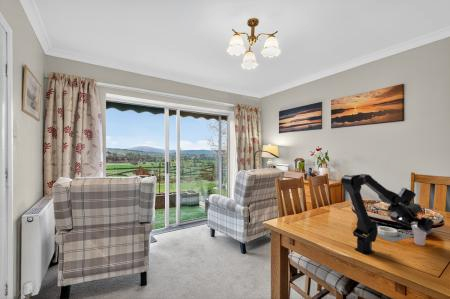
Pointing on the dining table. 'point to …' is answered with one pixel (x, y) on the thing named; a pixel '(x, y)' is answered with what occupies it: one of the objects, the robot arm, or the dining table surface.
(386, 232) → the collar
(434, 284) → the dining table surface
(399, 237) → the mat
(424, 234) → the smoothie
